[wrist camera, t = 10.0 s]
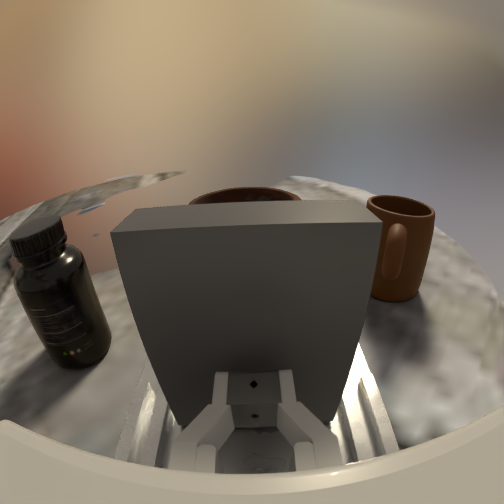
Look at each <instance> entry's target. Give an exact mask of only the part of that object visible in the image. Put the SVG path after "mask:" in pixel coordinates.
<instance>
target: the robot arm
mask: <svg viewBox="0 0 504 504" xmlns="http://www.w3.org/2000/svg"><path fill="white" fill-rule="evenodd" d="M263 426H277V428H278V429H279V431H280V432H281V433H282V434H283V436H284V437H285V438H286V439H287V441H288V442H289V443H290V444H291V446H292V447H293V453H292V457H291V462H290V466H289V470H290V472H281V473H263V474H224V468H223V465H222V463H221V460H220V457H219V455H218V451H219V449H220V448H221V447H222V445H223V444H224V443H225V441H226V440H227V439H228V437H229V436H230V434H231V433H232V432H233V430H234V429H235V427H263ZM0 504H504V406H502V407H500V408H499V409H497V410H495V411H493V412H491V413H490V414H488V415H486V416H484V417H482V418H480V419H478V420H476V421H474V422H472V423H470V424H468V425H466V426H464V427H461V428H459V429H457V430H455V431H452V432H450V433H448V434H445V435H443V436H440V437H438V438H435V439H433V440H430V441H427V442H424V443H422V444H419V445H416V446H413V447H410V448H407V449H404V450H400V451H397V452H394V453H390V454H387V455H383V456H379V457H375V458H371V459H367V460H363V461H358V462H354V463H349V464H343V461H342V456H341V451H340V447H339V442H338V437H337V436H336V435H335V434H334V433H333V432H332V431H331V430H330V429H328V428H327V427H326V426H325V425H324V424H323V423H322V422H321V421H320V420H319V419H318V418H317V417H316V416H315V415H314V414H313V413H311V412H310V411H309V410H308V409H307V408H306V407H305V406H304V405H303V404H302V403H301V402H297V401H296V394H295V387H294V381H293V374H292V370H291V369H290V370H279V371H278V370H271V371H254V372H216V373H215V379H214V388H213V398H212V404H208V405H207V406H206V407H205V408H204V409H203V410H202V412H201V413H200V414H199V415H198V416H197V417H196V418H195V419H194V420H193V421H192V422H191V423H190V424H189V425H188V426H187V427H186V428H185V429H184V430H183V431H182V432H181V433H180V434H179V435H178V436H177V437H176V438H175V439H174V440H173V443H172V449H171V455H170V460H169V466H168V469H165V468H158V467H152V466H146V465H141V464H135V463H131V462H126V461H121V460H117V459H113V458H109V457H105V456H101V455H98V454H94V453H91V452H87V451H84V450H81V449H78V448H75V447H72V446H69V445H66V444H63V443H60V442H58V441H55V440H52V439H50V438H47V437H45V436H42V435H40V434H38V433H35V432H33V431H31V430H28V429H26V428H24V427H22V426H20V425H18V424H16V423H14V422H12V421H9V420H2V421H0Z"/></svg>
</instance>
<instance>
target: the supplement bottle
mask: <svg viewBox="0 0 504 504" xmlns="http://www.w3.org/2000/svg"><path fill="white" fill-rule="evenodd" d="M66 241H67V234H66V232H65V231H64V228H63V224H62V220H61V217H60V216H58V215H50V216H45V217H41V218H38V219H35V220H32V221H30V222H28V223H26V224H24V225H22V226H20V227H19V228H17V229H16V230H15V231H13V232H12V233H11V235H10V236H9V242H10V245H11V248H12V251H13V256H14V259H15V261H16V262H19V265H18V267H17V268H16V271H15V274H14V287H15V290H16V292H17V295H18V297H19V299H20V301H21V303H22V305H23V308H24V310H25V312H26V314H27V316H28V318H29V320H30V322H31V323H32V325H33V327H34V329H35V331H36V333H37V335H38V336H39V338H40V340H41V342H42V343H43V345H44V347H45V349H46V350H47V352H48V353H49V355H50V357H51V358H52V359H53V361H54V362H55V363H56V364H57V365H59V366H60V367H63V368H66V369H71V370H76V369H82V368H86V367H88V366H90V365H92V364H94V363H96V362H97V361H98V360H100V359H101V358H102V357H103V356H104V354H105V353H106V352H107V350H108V348H109V346H110V343H111V331H110V328H109V325H108V323H107V320H106V318H105V315H104V313H103V310H102V307H101V305H100V302H99V299H98V297H97V294H96V291H95V288H94V286H93V283H92V280H91V277H90V274H89V271H88V268H87V265H86V261H85V259H84V256H83V254H82V253H81V251H80V250H79V249H78V248H76V247H75V246H73V245H70V244H66V243H65V242H66Z"/></svg>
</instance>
